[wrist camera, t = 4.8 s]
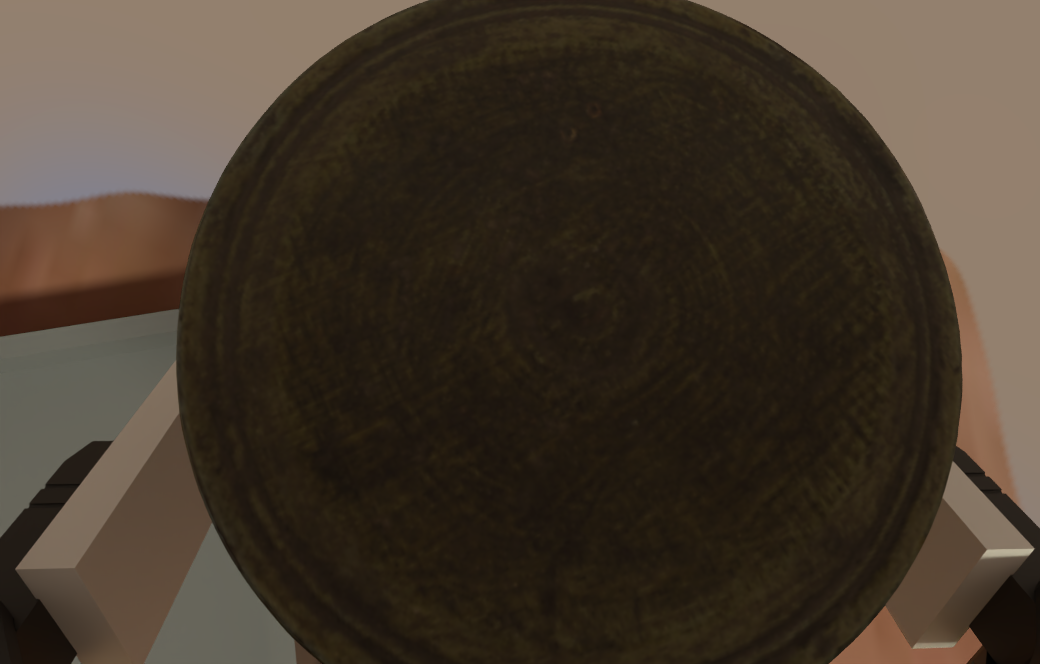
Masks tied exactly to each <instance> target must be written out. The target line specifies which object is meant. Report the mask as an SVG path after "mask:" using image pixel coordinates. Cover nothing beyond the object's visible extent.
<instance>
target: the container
mask: <svg viewBox="0 0 1040 664" xmlns="http://www.w3.org/2000/svg"><path fill="white" fill-rule="evenodd" d="M176 377H177V392H178V403H179V413H180V420H181V426H182V431H183V436H184V440H185V444H186V448H187V452H188V456H189V460H190V463H191V467H192V470H193V474H194V477H195V480H196V483H197V486H198V489H199V492H200V494H201V497H202V499H203V502H204V505H205V507H206V509H207V512H208V514H209V516H210V519H211V521H212V523H213V525H214V527H215V529H216V531H217V533H218V535H219V537H220V539H221V541H222V543H223V545H224V547H225V549H226V550H227V552H228V554H229V556H230V557H231V559H232V561H233V562H234V564H235V565H236V567H237V568H238V570H239V572H240V573H241V575H242V576H243V578H244V579H245V580H246V582H247V583H248V585H249V586H250V588H251V589H252V590H253V592H254V593H255V594H256V596H257V597H258V598H259V599H260V601H261V602H262V603H263V604H264V606H265V607H266V608H267V609H268V611H269V612H270V613H271V614H272V615H273V617H274V618H275V619H276V620H277V621H278V623H279V624H280V625H281V626H282V627H283V628H284V629H285V631H286V632H287V633H288V634H289V635H290V636H291V637H292V638H293V639H294V640H295V641H296V642H297V643H299V644H300V645H301V646H302V647H303V648H304V649H305V650H306V651H307V652H308V653H310V654H311V655H312V656H313V657H314V658H316V659H317V660H318V661H319V662H320V663H322V664H829V663H830V662H831V661H832V660H833V659H835V658H836V657H837V656H838V655H839V654H840V653H841V652H842V651H843V650H844V649H845V648H847V647H848V646H849V645H850V644H851V643H852V642H853V641H854V640H855V639H856V638H857V637H858V636H859V635H860V634H861V633H862V632H863V630H864V629H865V628H866V627H867V626H868V625H869V624H870V623H871V622H872V620H873V619H874V618H875V617H876V616H877V615H878V613H879V612H880V611H881V610H882V609H883V607H884V606H885V605H886V603H887V602H888V601H889V599H890V598H891V597H892V595H893V594H894V593H895V591H896V590H897V589H898V587H899V586H900V584H901V582H902V581H903V579H904V577H905V576H906V574H907V572H908V571H909V569H910V567H911V566H912V564H913V562H914V561H915V559H916V557H917V555H918V553H919V552H920V550H921V548H922V546H923V544H924V542H925V540H926V538H927V536H928V534H929V532H930V529H931V527H932V525H933V522H934V519H935V517H936V514H937V512H938V509H939V507H940V504H941V501H942V497H943V494H944V491H945V488H946V484H947V481H948V477H949V473H950V469H951V466H952V462H953V458H954V452H955V447H956V442H957V436H958V426H959V418H960V410H961V401H962V353H961V344H960V331H959V325H958V319H957V313H956V307H955V302H954V297H953V293H952V289H951V285H950V282H949V278H948V274H947V271H946V267H945V264H944V261H943V259H942V256H941V253H940V250H939V247H938V244H937V241H936V239H935V236H934V234H933V231H932V229H931V225H930V223H929V221H928V219H927V216H926V214H925V212H924V209H923V207H922V204H921V202H920V200H919V198H918V197H917V194H916V193H915V191H914V189H913V187H912V185H911V183H910V181H909V180H908V178H907V176H906V175H905V173H904V171H903V170H902V168H901V166H900V165H899V163H898V162H897V160H896V159H895V157H894V156H893V154H892V153H891V152H890V150H889V148H888V147H887V146H886V145H885V143H884V142H883V140H882V139H881V138H880V136H879V135H878V134H877V132H876V131H875V130H874V128H873V127H872V126H871V124H870V123H869V122H868V120H867V119H866V118H865V117H864V116H863V115H862V114H861V113H860V112H859V111H858V110H857V109H856V108H855V106H854V105H853V104H852V103H850V101H849V100H848V99H847V98H845V96H844V95H843V94H842V93H841V92H840V91H839V90H838V89H837V88H836V87H835V86H833V85H832V84H831V83H830V82H829V81H827V80H826V79H825V78H824V77H823V76H822V75H821V74H819V73H818V72H817V71H816V70H814V69H813V68H812V67H811V66H809V65H808V64H807V63H805V62H804V61H802V60H801V59H800V58H798V57H797V56H795V55H794V54H792V53H791V52H789V51H788V50H786V49H785V48H783V47H782V46H781V45H779V44H778V43H776V42H775V41H773V40H771V39H769V38H768V37H766V36H764V35H763V34H761V33H759V32H757V31H756V30H754V29H752V28H750V27H749V26H747V25H745V24H743V23H741V22H739V21H736V20H735V19H733V18H730V17H728V16H726V15H724V14H722V13H719V12H717V11H714V10H712V9H710V8H707V7H705V6H702V5H699V4H696V3H694V2H691V1H688V0H428V1H425V2H423V3H420V4H417V5H415V6H412V7H410V8H407V9H405V10H403V11H400V12H398V13H395V14H393V15H391V16H389V17H387V18H385V19H383V20H381V21H379V22H377V23H376V24H373V25H372V26H370V27H368V28H366V29H364V30H363V31H361V32H359V33H357V34H355V35H354V36H352V37H351V38H349V39H347V40H345V41H344V42H342V43H341V44H339V45H338V46H337V47H335V48H334V49H332V50H331V51H330V52H329V53H327V54H326V55H324V56H323V57H321V58H320V59H319V60H318V61H316V62H315V63H314V64H313V65H312V66H310V67H309V68H308V69H307V70H306V71H305V72H303V73H302V74H301V75H300V76H299V77H298V78H297V79H296V80H295V81H294V82H293V83H292V84H291V85H290V86H289V87H288V88H287V89H286V90H285V91H284V92H283V93H282V94H281V95H280V96H279V97H278V98H277V99H276V100H275V102H274V103H273V104H272V105H271V106H270V107H269V108H268V110H267V111H266V112H265V113H264V114H263V115H262V117H261V118H260V119H259V120H258V122H257V123H256V124H255V125H254V127H253V128H252V129H251V130H250V132H249V133H248V135H247V136H246V137H245V139H244V140H243V141H242V143H241V144H240V146H239V147H238V149H237V150H236V152H235V154H234V155H233V157H232V158H231V160H230V161H229V163H228V165H227V166H226V168H225V170H224V172H223V173H222V175H221V177H220V179H219V181H218V183H217V185H216V187H215V189H214V191H213V193H212V195H211V197H210V199H209V202H208V204H207V206H206V209H205V211H204V214H203V216H202V219H201V221H200V224H199V226H198V229H197V232H196V234H195V238H194V241H193V244H192V247H191V251H190V255H189V258H188V263H187V267H186V271H185V276H184V281H183V287H182V293H181V300H180V307H179V316H178V327H177V345H176Z"/></svg>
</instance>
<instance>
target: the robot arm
mask: <svg viewBox="0 0 1040 664" xmlns="http://www.w3.org/2000/svg"><path fill="white" fill-rule="evenodd" d="M211 524H212V521H211V519H210V516H209V514H208V512H207V509H206V507H205V505H204V502H203V499H202V497H201V494H200V492H199V489H198V486H197V483H196V480H195V477H194V474H193V470H192V467H191V463H190V460H189V456H188V452H187V448H186V444H185V440H184V436H183V431H182V426H181V420H180V413H179V403H178V392H177V377H176V361H175V362H174V363H173V365H172V366H171V367H170V368H169V370H168V371H167V372H166V374H165V375H164V376H163V378H162V379H161V380H160V381H159V383H158V384H157V385H156V387H155V388H154V389H153V391H152V392H151V393H150V394H149V396H148V397H147V398H146V400H145V401H144V402H143V404H142V405H141V406H140V407H139V409H138V410H137V411H136V413H135V414H134V415H133V417H132V418H131V419H130V420H129V422H128V423H127V424H126V426H125V427H124V428H123V430H122V431H121V432H120V434H119V435H118V436H117V437H116V439H115V440H114V441H92V442H91V443H89V444H88V445H86V446H85V447H83V448H82V449H81V450H79V451H78V452H76V453H75V454H74V455H72V456H71V457H69V458H68V459H67V460H65V461H64V462H63V463H62V465H61V466H60V467H59V468H58V469H57V471H56V472H55V473H54V474H53V475H52V477H51V478H50V479H49V480H48V481H47V483H46V484H45V488H44V489H41V490H40V491H39V492H38V493H37V494H36V496H35V497H34V498H33V499H32V500H31V502H30V503H29V508H25V509H24V510H23V511H22V512H21V514H20V515H19V516H18V517H17V518H16V520H15V521H14V522H13V523H12V524H11V526H10V527H9V528H8V529H7V530H6V532H5V533H4V534H3V535H2V536H1V538H0V664H71V663H72V662H73V660H74V658H75V657H76V656H77V658H78V659H79V660H80V662H81V663H82V664H144V662H145V660H146V658H147V656H148V654H149V652H150V650H151V648H152V646H153V644H154V642H155V639H156V637H157V635H158V633H159V631H160V629H161V627H162V625H163V623H164V621H165V619H166V617H167V615H168V613H169V611H170V608H171V606H172V604H173V602H174V600H175V598H176V596H177V594H178V592H179V590H180V588H181V586H182V584H183V582H184V579H185V577H186V575H187V573H188V571H189V569H190V567H191V565H192V563H193V561H194V559H195V557H196V555H197V553H198V551H199V548H200V546H201V544H202V542H203V540H204V538H205V536H206V534H207V532H208V530H209V528H210V526H211ZM885 606H886V607H887V609H888V611H889V612H890V614H891V615H892V617H893V619H894V620H895V622H896V623H897V625H898V627H899V628H900V630H901V632H902V633H903V635H904V636H905V638H906V640H907V641H908V643H909V644H910V646H911V648H912V649H913V648H945V647H954V646H955V644H956V643H957V642H958V641H959V639H960V638H961V637H962V636H963V635H964V633H965V632H966V631H967V630H968V629H969V627H970V628H971V630H972V631H973V632H974V634H975V635H976V637H977V638H978V639H979V641H980V642H981V643H982V647H981V648H980V649H979V650H978V651H977V652H976V653H975V655H974V656H973V657H972V658H971V659H970V660H969V661H968V663H967V664H1040V528H1039V527H1038V526H1037V525H1036V524H1035V523H1034V522H1033V521H1032V520H1031V519H1030V518H1029V517H1028V516H1027V515H1026V514H1025V513H1024V512H1023V511H1022V510H1021V509H1020V508H1019V507H1018V506H1017V505H1016V504H1015V503H1014V502H1013V501H1012V500H1011V499H1010V498H1009V497H1008V496H1007V494H1002V492H1001V488H1000V487H999V486H998V485H997V484H996V483H995V482H994V481H993V480H992V479H991V478H990V477H986V476H985V472H984V471H983V470H982V469H981V468H980V467H979V466H978V465H977V464H976V463H975V462H974V461H973V460H972V459H971V458H970V457H969V456H968V455H967V454H966V452H964V451H963V450H961V449H960V448H958V447H957V446H956V447H955V452H954V458H953V462H952V466H951V469H950V473H949V477H948V481H947V484H946V488H945V491H944V494H943V497H942V501H941V504H940V507H939V509H938V512H937V514H936V517H935V519H934V522H933V525H932V527H931V529H930V532H929V534H928V536H927V538H926V540H925V542H924V544H923V546H922V548H921V550H920V552H919V553H918V555H917V557H916V559H915V561H914V562H913V564H912V566H911V567H910V569H909V571H908V572H907V574H906V576H905V577H904V579H903V581H902V582H901V584H900V586H899V587H898V589H897V590H896V591H895V593H894V594H893V595H892V597H891V598H890V599H889V601H888V602H887V603H886V605H885Z"/></svg>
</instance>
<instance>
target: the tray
mask: <svg viewBox="0 0 1040 664" xmlns="http://www.w3.org/2000/svg"><path fill="white" fill-rule="evenodd" d="M178 316H179V309H174V310H168V311H162V312H155V313H149V314H143V315H136V316H130V317H123V318H117V319H111V320H104V321H98V322H92V323H85V324H79V325H73V326H66V327H60V328H53V329H47V330H41V331H34V332H28V333H22V334H15V335H9V336H3V337H0V538H1V536H2V535H3V534H4V533H5V532H6V530H7V529H8V528H9V527H10V526H11V524H12V523H13V522H14V521H15V520H16V518H17V517H18V516H19V515H20V514H21V512H22V511H23V510H24V509H25V508H29V503H30V502H31V500H32V499H33V498H34V497H35V496H36V494H37V493H38V492H39V491H40V490H41V489H44V488H45V484H46V483H47V481H48V480H49V479H50V478H51V477H52V475H53V474H54V473H55V472H56V471H57V469H58V468H59V467H60V466H61V465H62V463H63V462H64V461H65V460H67V459H68V458H69V457H71V456H72V455H74V454H75V453H76V452H78V451H79V450H81V449H82V448H83V447H85V446H86V445H88V444H89V443H91V442H92V441H114V440H115V439H116V437H117V436H118V435H119V434H120V432H121V431H122V430H123V428H124V427H125V426H126V424H127V423H128V422H129V420H130V419H131V418H132V417H133V415H134V414H135V413H136V411H137V410H138V409H139V407H140V406H141V405H142V404H143V402H144V401H145V400H146V398H147V397H148V396H149V394H150V393H151V392H152V391H153V389H154V388H155V387H156V385H157V384H158V383H159V381H160V380H161V379H162V378H163V376H164V375H165V374H166V372H167V371H168V370H169V368H170V367H171V366H172V365H173V363H174V362H175V361H176V345H177V327H178ZM71 664H82V663H81V662H80V660H79V659H78V658H77V656H76V657H75V658H74V660H73V662H72V663H71ZM144 664H320V662H319V661H318V660H317V659H316V658H314V657H313V656H312V655H311V654H310V653H308V652H307V651H306V650H305V649H304V648H303V647H302V646H301V645H300V644H299V643H297V642H296V641H295V640H294V639H293V638H292V637H291V636H290V635H289V634H288V633H287V632H286V631H285V629H284V628H283V627H282V626H281V625H280V624H279V623H278V621H277V620H276V619H275V618H274V617H273V615H272V614H271V613H270V612H269V611H268V609H267V608H266V607H265V606H264V604H263V603H262V602H261V601H260V599H259V598H258V597H257V596H256V594H255V593H254V592H253V590H252V589H251V588H250V586H249V585H248V583H247V582H246V580H245V579H244V578H243V576H242V575H241V573H240V572H239V570H238V568H237V567H236V565H235V564H234V562H233V561H232V559H231V557H230V556H229V554H228V552H227V550H226V549H225V547H224V545H223V543H222V541H221V539H220V537H219V535H218V533H217V531H216V529H215V527H214V525H213V523H212V524H211V526H210V528H209V530H208V532H207V534H206V536H205V538H204V540H203V542H202V544H201V546H200V548H199V551H198V553H197V555H196V557H195V559H194V561H193V563H192V565H191V567H190V569H189V571H188V573H187V575H186V577H185V579H184V582H183V584H182V586H181V588H180V590H179V592H178V594H177V596H176V598H175V600H174V602H173V604H172V606H171V608H170V611H169V613H168V615H167V617H166V619H165V621H164V623H163V625H162V627H161V629H160V631H159V633H158V635H157V637H156V639H155V642H154V644H153V646H152V648H151V650H150V652H149V654H148V656H147V658H146V660H145V662H144Z"/></svg>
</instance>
